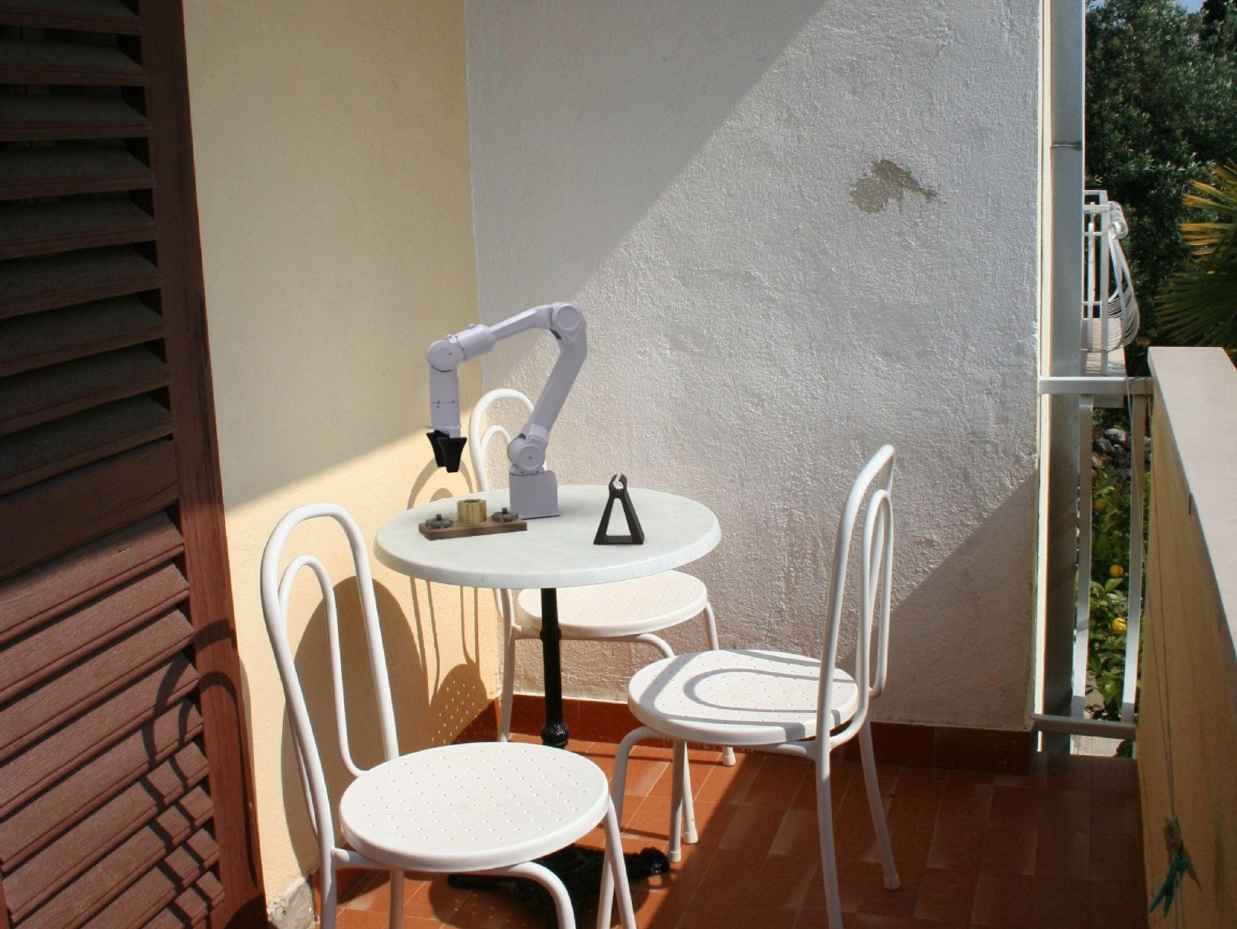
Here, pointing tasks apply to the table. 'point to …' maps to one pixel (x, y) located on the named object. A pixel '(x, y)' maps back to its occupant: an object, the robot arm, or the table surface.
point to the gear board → (472, 526)
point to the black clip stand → (630, 515)
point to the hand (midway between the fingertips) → (447, 469)
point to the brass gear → (471, 511)
